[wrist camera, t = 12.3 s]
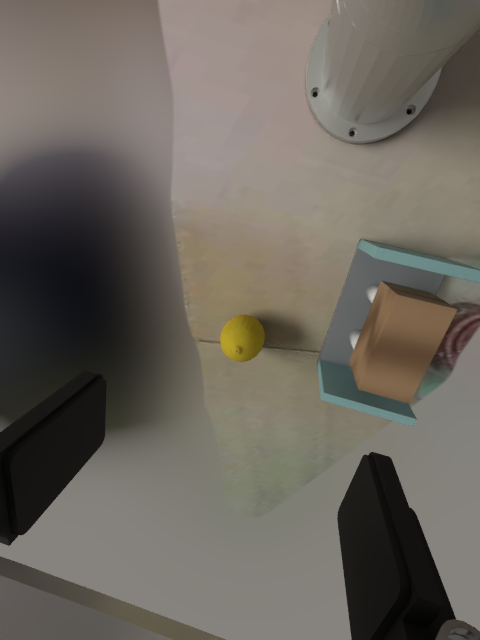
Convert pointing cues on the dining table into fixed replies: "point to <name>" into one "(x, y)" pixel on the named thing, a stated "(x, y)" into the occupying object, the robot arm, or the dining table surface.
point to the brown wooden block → (399, 340)
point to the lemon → (242, 338)
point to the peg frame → (353, 309)
